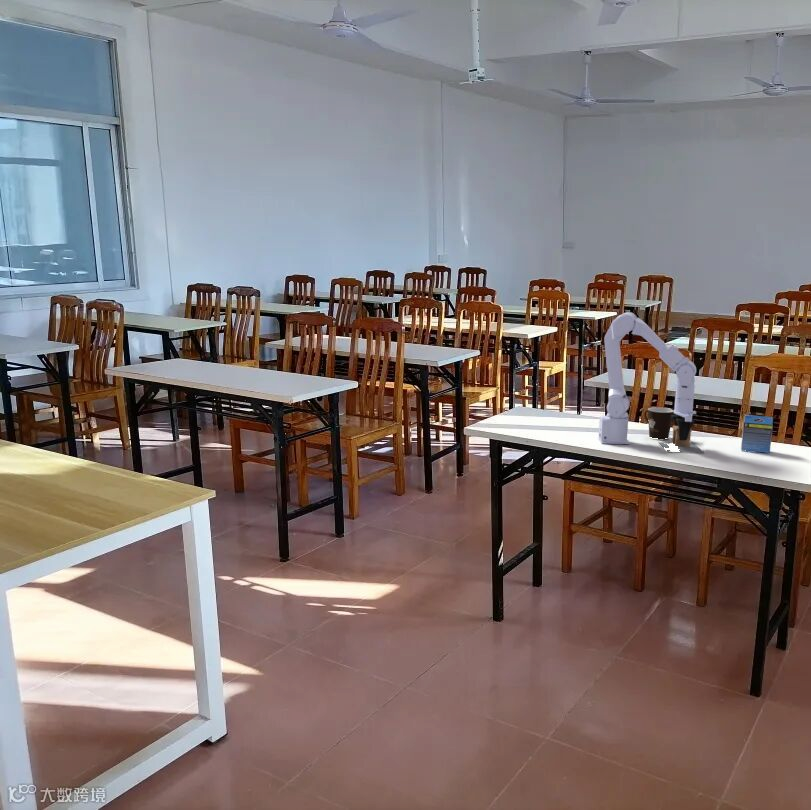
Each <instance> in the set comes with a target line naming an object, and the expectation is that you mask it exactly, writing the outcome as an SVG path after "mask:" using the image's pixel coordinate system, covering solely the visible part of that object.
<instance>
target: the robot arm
mask: <svg viewBox="0 0 811 810" xmlns="http://www.w3.org/2000/svg"><path fill="white" fill-rule="evenodd" d="M631 331H632V332H631ZM629 332H631V334H632V335H635V336H636V335H637V336H641V337H642V338H643V339H644V340H646V341H647V342H648V343H649V344H650V345H651V346H652V347H653V348H655V350H656V351H658V352H659V353H658V354H659V355H658V356H659V359H661V360H662V362H664V363H665V364H666V365H667V366H668V367H669V368H670V369H671V370H672V371H674V372H675V375H676V377H677V378H676V379H677V381H676V387H675V397H674V409H673V410H674V412H673V415H671V417H672V422H673V426H678V428H679V438H680V440H687V438H688V434H689V431H690V429H692V427H693V425H694V424H695V422H696V421H695V420H694V419H693V416H694V415H697V411H696V410H693V409H694V396H695V388H696V387H695V386H696V385H695V382H696V380H695V376H696V374H697V367H696V365H695V363H694V362H693V361H692V360H690V358H689V357H686V356H684V355H683V353H682V352H681V351H680V350H679V347H678V346H674V345H673V344H666V343H665V342H664V340H662V339H661V337H660V336H659V335H657V333H655V331H654V330H653V329H652V328H651V327H650V326H649V325H648V324H647V323H646V322H644V320H642V319H641V318H639V317H637V315H636V314H635V313H633V312H631V311H626V312H624V313H622V314H620V315H618V316H617V317H616V318H614V319H613V320H612V322H611V324H610V326H609V328H608V329H607V332H606V333H605V335H604V339H603V340H604V350H605V359H606V371H607V379H608V388H609V389H608V402H607V405H606V411H607V414H606V415H601V416H600V417H599V422H598V424H599V425H598V426H599V427H598V437H597V438H598V440H599V441H600V443H601V444H606V445H607V444H609V445H611V444H613V445H614V444H615V445H619V444H620V445H630V444H631V443H630V441H629V440H628V429H629V418H630V417H629V414H628V413H627V411H628V410H629V408H630V405H631V403H630V400H629V398H628V396H627V393H626V392H627V391H626V389H625V385H624V374H623V366H622V364H623V363H622V354H621V353H622V352H621V347H620V346H621V344H620V343H621V340H622V339H623V338H624V337H625V336H626V334H629Z"/></svg>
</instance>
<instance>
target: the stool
mask: <svg viewBox="0 0 811 810" xmlns="http://www.w3.org/2000/svg"><path fill="white" fill-rule="evenodd" d="M692 429H693V428H691V429H690V431H689V434H688V438H687V440H680V438H679V428H678V426H674V425H672V440H671V443H673V444H675V446H690V443H691V437H692V431H693V430H692Z"/></svg>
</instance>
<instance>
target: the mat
mask: <svg viewBox="0 0 811 810" xmlns="http://www.w3.org/2000/svg"><path fill="white" fill-rule="evenodd" d="M658 443H659V444H660V445H661V446H662V447H663V448H664V447H665V448H669V446H668V445H667V444H664V443H667V442H661V441H659V442H657V444H658ZM659 444H658V445H659ZM660 445H659V446H660ZM661 446H660V447H661ZM662 447H661V448H662ZM663 448H662V449H663ZM678 449H680V450H679V451H680V452H696V453H695V454H705V452H704V451H703V449H701V448H700V446H699V445H697V444H695V443H694V442H690V446H678ZM667 451H670V450H667Z"/></svg>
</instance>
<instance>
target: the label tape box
mask: <svg viewBox="0 0 811 810" xmlns="http://www.w3.org/2000/svg"><path fill="white" fill-rule="evenodd" d="M758 419H759V420H760V421H759V420H758ZM756 420H758V421H756ZM773 420H774V417H772V416H764V415H762V416H761V415H751V414H750V415H749V414H744V419H743V425H742V432H741V433H742V436H741V447H740V451H741V450H746V451H745V452H748V451H758V452H757V453H760V452H766V453H765V454H770V453H771V444H772V437H773V436H772V435H773V427H774V426H773Z"/></svg>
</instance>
